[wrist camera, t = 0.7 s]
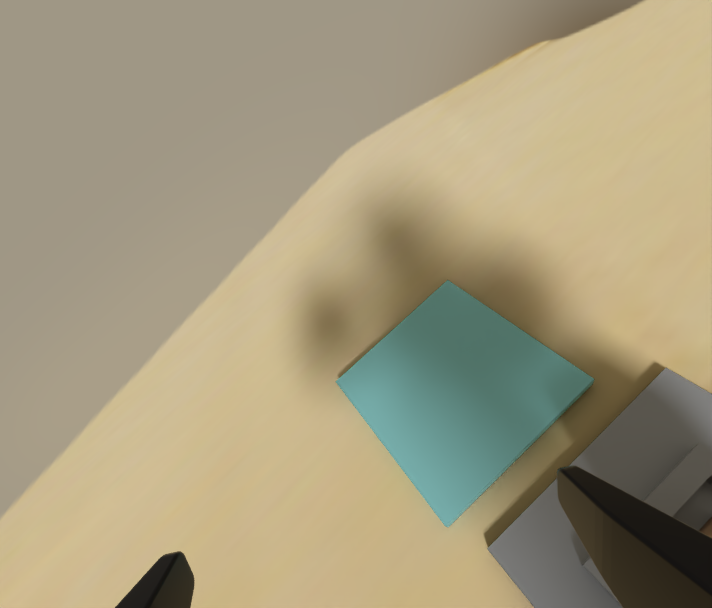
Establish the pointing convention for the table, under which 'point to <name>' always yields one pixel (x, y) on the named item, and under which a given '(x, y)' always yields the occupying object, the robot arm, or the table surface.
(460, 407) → the mat
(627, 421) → the holder
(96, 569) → the table surface
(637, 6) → the table surface
